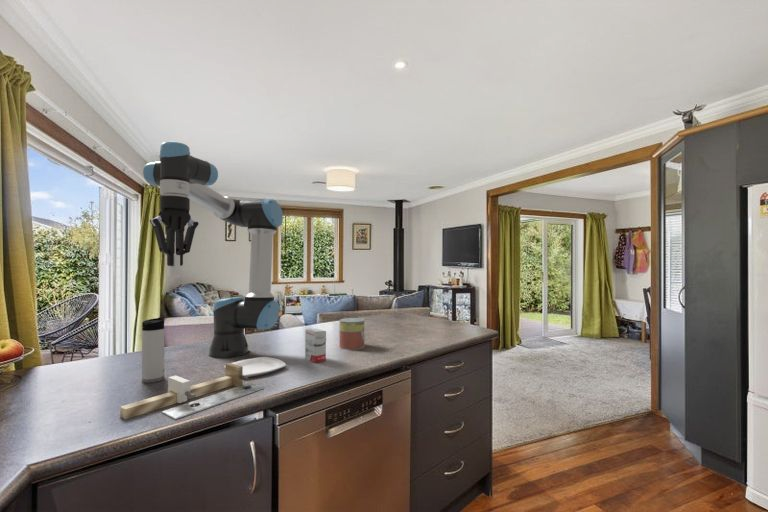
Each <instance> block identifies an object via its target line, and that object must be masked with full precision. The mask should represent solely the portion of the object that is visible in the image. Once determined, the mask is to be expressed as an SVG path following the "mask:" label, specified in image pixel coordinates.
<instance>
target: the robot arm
mask: <svg viewBox="0 0 768 512" xmlns="http://www.w3.org/2000/svg"><path fill="white" fill-rule="evenodd" d="M159 148H160V150H159V151H160V152H159V160H158V161H153V162H152V161H151V162H148V163H146V164H145V165H144V166H143V170H142V174H143V178H144V180H145V181H146V182H147V183H148V184H149V185H151V186H157V187H158V186H159V194H160V195H161V196H160V197H159V208H160V209H159V210H160V211H159V213H158V216H156V217H154V218H150V219H149V223H150V224H151V226H152V227H153V231H154V234H155V237H156V238H155V239H156V242H157V245H158V250H159V252H160V253H163V254H165V255H166V264H167V266H168V267H169V270H170V271H169V275H170V276H169V278H176V279H177V278H180V277H181V267H182V266H183V265H184V255H185V254H188V253H190V252H191V248H192V243H193V240H194V235H195V232H196V229H197V227H198V226H199V224H200V223H199V222H198V221H195V220H193V219H192V217H191V214H190V209H191V207H190V203H191V202H190V201H192V202H194V203H195V204H198V205H199V206H201V207H203V208H205V209H207V210H208V211H211V212H212V213H213V215H214V216H215V217H216V218H219V219H220V220H222V221H224V222H226V223H229V224H231V225H233V226H237V227H242V228H247V231H248V232H249V234H250V252H249V253H250V254H249V256H250V259H249V278H248V279H249V280H248V281H249V282H248V292H247V294H246V295H244V296H235V297H227V298H221V299H217V300H215V301H214V303H213V310H212V312H213V338H212V339H211V340H212V341H211V342H210V347H209V349H208V356H210V357H212V358H233V357H237V356H242V355H245V354H246V353H248V352H249V344H248V342H247V339H246V335H245V330H246V329H247V330H250V329H251V330H259V331H261V330H270V329H271V328H273V327H274V326H275V325H276V323H277V322H278V319H279V316H280V306H279V303H278V301H276V300H275V296H274V294H273V293H272V292H271V290H272V289H271V288H272V265H273V238H274V235H275V234H276V233H277V231H278V228H279V227H281V226H282V224H283V221H284V219H283V218H284V217H283V211H282V208H281V206H280V203H278V202H277V200H275V199H273V198H257V199H255V198H254V199H237V198H236V199H234V198H231V197H230V196H227V195H225V196H224V195H222V194H221V193H219V192H218V191H216V190H214V189H213V188H211V187H210V186H212V185H214V184H215V183H216V182H217V180H218V178H219V173H218V172H219V171H218V168H217V167H216V166H215V165H214V164H213V163H210V162H209V161H207V160H203V159H201V158H197V157H194V156H193V155H191V151H190V147H189V146H188V145H187V144H186V143H183V142H177V141H164V142H162V143H161V144H160V147H159ZM162 223H163V225H164V226H165V232H166V235H165V232H164V229H163V226H162ZM186 225H187V229H185V227H186ZM185 230H186V232H185ZM184 232H185V234H184ZM165 236H166V237H165Z"/></svg>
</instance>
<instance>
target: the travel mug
mask: <svg viewBox="0 0 768 512" xmlns="http://www.w3.org/2000/svg"><path fill="white" fill-rule="evenodd" d="M141 324H142V325H141V326H142V327H141V381H142V383H145V382H146V384H148V383H147V382H151V383H156V381H157V382H159V381H163V380H164V379H165V317H162V316H160V317H157V318H155V317H154V318H150V319H147V320H144V321H142V322H141Z"/></svg>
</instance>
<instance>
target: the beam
mask: <svg viewBox="0 0 768 512" xmlns="http://www.w3.org/2000/svg"><path fill="white" fill-rule="evenodd" d="M232 363H233V362H228V363H225V364H224V365H225V367H224V369H225V370H224V371H225V372H224V373H225V375H224V376H222V377H217V378H213V379H210V380H207V381H204V382H201V383H195V384H193V385H190V392H191V393H193V394H195V397H194V398H197V397H200V396H203V395H207V394H209V393H213V392H217V391H219V390H222V389H224V388H229V387H232V386H234V387H238V386H242V385H244V384H243V381H246V382H247V381H249V377H246V376H243V367H242V366H239V365H235V364H232ZM191 399H192V398H191V397H188V396H187V401H188V400H191ZM174 404H179V403H178V402H177V393H175V392H173V391H172V392H169V393H168V392H165V393H162V394H159V395H156V396H152V397H148V398H145V399H142V400H141V399H140V400H138V401H134V402H131V403H128V404H125V405H121V406H120V408H119V409H120V414H119V415H120V417H121V418H122V419H124V420H127V419H128V420H129V419H131V418H134V417H137V416H140V415H144V414H147V413H149V412H153V411H157V410H159V409H162V408H165V407H169V406H172V405H174Z"/></svg>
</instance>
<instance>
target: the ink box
mask: <svg viewBox="0 0 768 512" xmlns="http://www.w3.org/2000/svg"><path fill="white" fill-rule="evenodd" d="M304 332H305V333H304V335H305V336H304V339H305V340H304V341H305V342H304V359H305V360H308V361H310V362H312V363H314V364H316V363H322V362H326V361H327V358H326V357H327V349H326V348H327V331H326V330H323V329H320V328H317V327H316V328H315V327H314V328H313V327H312V328H305V330H304Z"/></svg>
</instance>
